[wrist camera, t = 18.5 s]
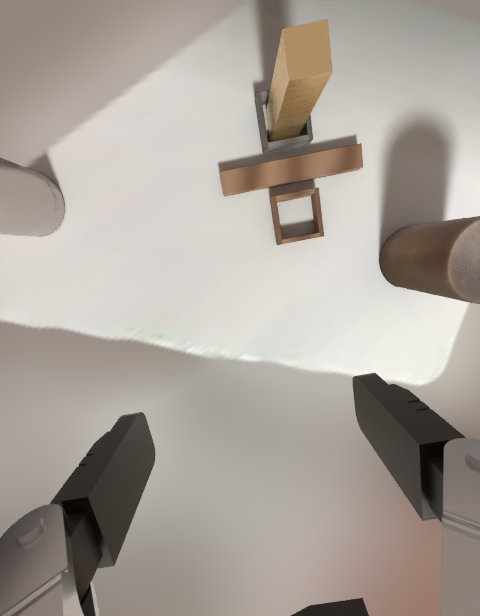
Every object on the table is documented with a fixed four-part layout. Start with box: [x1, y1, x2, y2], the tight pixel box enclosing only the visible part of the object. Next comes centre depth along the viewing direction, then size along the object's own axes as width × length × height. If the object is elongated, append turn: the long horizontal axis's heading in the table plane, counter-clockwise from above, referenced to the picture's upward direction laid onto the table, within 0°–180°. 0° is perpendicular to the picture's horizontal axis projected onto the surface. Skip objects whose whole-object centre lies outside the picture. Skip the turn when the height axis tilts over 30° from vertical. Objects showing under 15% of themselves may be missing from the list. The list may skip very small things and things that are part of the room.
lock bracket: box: [219, 90, 363, 245], centre depth 38 cm, size 20×20×2 cm
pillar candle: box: [380, 216, 480, 304], centre depth 34 cm, size 10×10×15 cm
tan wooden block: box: [266, 19, 333, 141], centre depth 30 cm, size 4×4×14 cm
